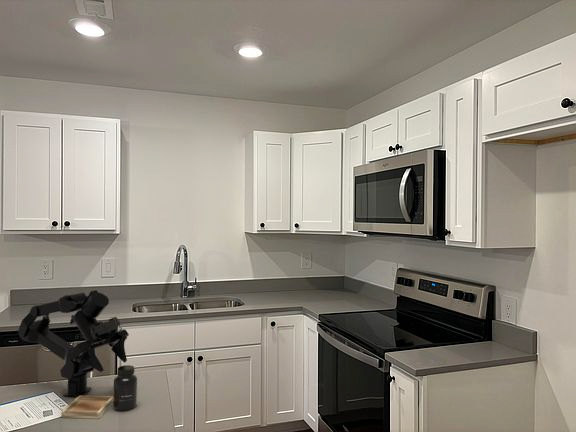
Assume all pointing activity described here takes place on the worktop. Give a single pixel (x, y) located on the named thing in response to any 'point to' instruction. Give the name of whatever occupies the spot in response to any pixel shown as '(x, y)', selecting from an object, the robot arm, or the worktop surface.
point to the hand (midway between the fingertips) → (114, 366)
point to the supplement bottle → (125, 389)
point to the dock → (87, 407)
